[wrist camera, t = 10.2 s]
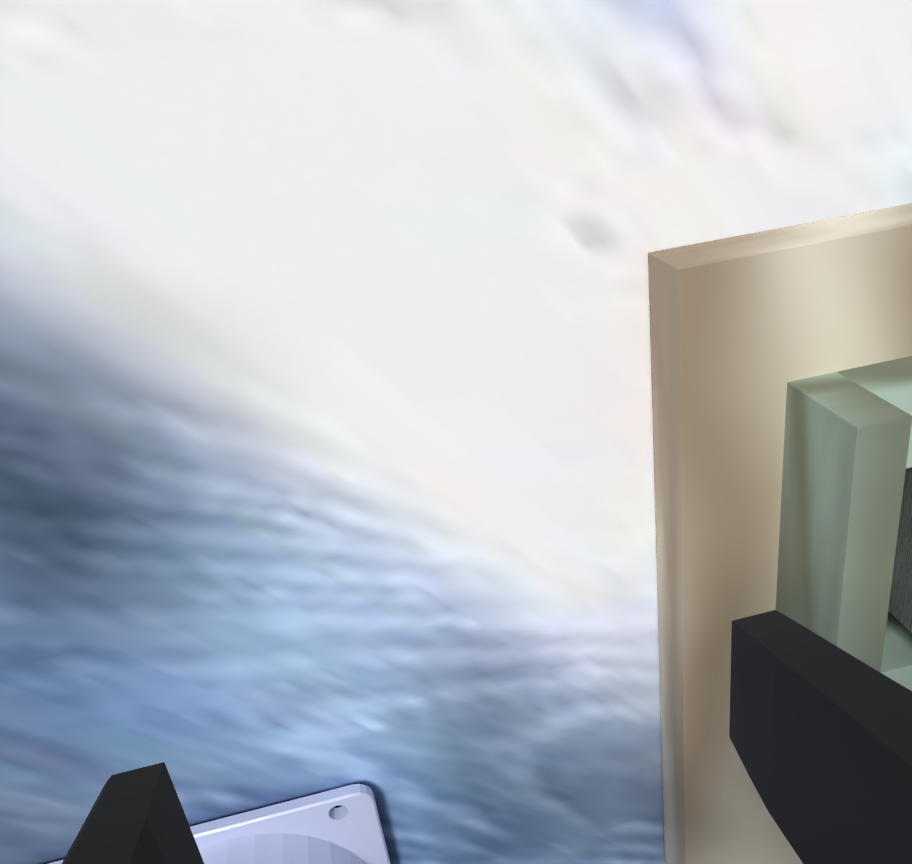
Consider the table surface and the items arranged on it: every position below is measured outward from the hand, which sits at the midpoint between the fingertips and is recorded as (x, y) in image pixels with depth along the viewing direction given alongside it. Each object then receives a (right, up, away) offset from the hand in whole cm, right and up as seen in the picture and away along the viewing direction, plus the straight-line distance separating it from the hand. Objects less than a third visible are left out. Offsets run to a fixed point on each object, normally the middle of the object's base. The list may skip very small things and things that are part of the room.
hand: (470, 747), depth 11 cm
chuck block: (+12, 0, +13) cm, 18 cm away
